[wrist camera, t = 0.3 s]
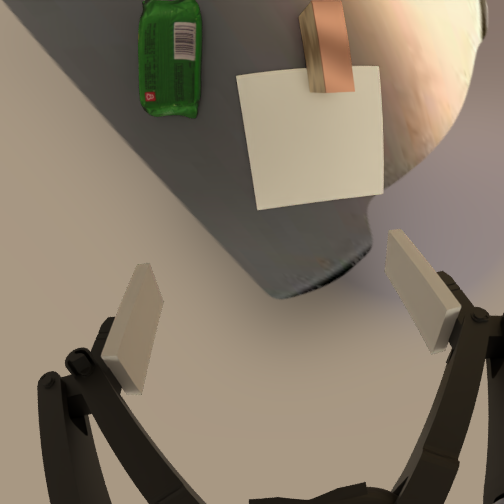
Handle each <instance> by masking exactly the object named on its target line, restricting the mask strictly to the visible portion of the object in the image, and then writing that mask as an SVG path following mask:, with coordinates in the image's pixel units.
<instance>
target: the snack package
mask: <svg viewBox="0 0 504 504" xmlns="http://www.w3.org/2000/svg"><path fill="white" fill-rule="evenodd" d="M142 4H143V12H142V15H141V17H140V22H139V31H138V59H139V94H140V101H141V105H142V107H143V109H144V110H145V111H146V112H147V113H148V114H150V115H152V116H155V117H160V116H167V115H182V116H186V117H188V118H196V116H197V113H198V104H199V100H200V96H201V57H202V19H201V13H200V8H199V5H198V4H197V2H196V1H195V0H176V1H159V0H145V1H143V2H142Z"/></svg>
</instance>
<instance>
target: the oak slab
mask: <svg viewBox="0 0 504 504" xmlns="http://www.w3.org/2000/svg"><path fill="white" fill-rule="evenodd" d="M298 18H299V23H300V29H301V35H302V41H303V47H304V54H305V60H306V67H307V74H308V81H309V89H310V92H314V93H337V92H355V87H354V79H353V71H352V63H351V56H350V49H349V42H348V36H347V30H346V24H345V18H344V13H343V7H342V2H341V1H311V2H310V4H309V5H308V6H307V7H306V8H305V10H304V11H303V12H302V13H301V14H300V16H299V17H298Z"/></svg>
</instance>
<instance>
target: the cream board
mask: <svg viewBox="0 0 504 504" xmlns="http://www.w3.org/2000/svg"><path fill="white" fill-rule="evenodd" d="M352 71H353V79H354V87H355V92H337V93H314V92H310V89H309V81H308V74H307V68H300V69H288V70H278V71H269V72H260V73H253V74H246V75H239V76H236V79H237V85H238V91H239V97H240V103H241V110H242V116H243V122H244V128H245V134H246V141H247V147H248V153H249V159H250V166H251V172H252V178H253V185H254V191H255V198H256V204H257V210H262V209H269V208H276V207H283V206H290V205H297V204H305V203H312V202H320V201H328V200H336V199H344V198H352V197H360V196H369V195H378V194H383V172H384V160H383V119H382V101H381V86H380V74H379V66H352Z"/></svg>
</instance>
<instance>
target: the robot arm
mask: <svg viewBox="0 0 504 504" xmlns="http://www.w3.org/2000/svg"><path fill="white" fill-rule="evenodd" d="M385 273H386V275H387V276H388V278H389V280H390V281H391V283H392V285H393V286H394V288H395V290H396V292H397V293H398V295H399V297H400V298H401V300H402V302H403V303H404V305H405V307H406V309H407V310H408V312H409V314H410V316H411V317H412V319H413V321H414V323H415V325H416V326H417V328H418V330H419V332H420V334H421V336H422V337H423V339H424V341H425V343H426V345H427V347H428V349H429V351H430V353H431V354H435V353H439V352H442V351H445V350H446V347H447V344H448V342H449V343H450V345H451V346H452V349H451V352H450V354H449V356H448V359H447V361H446V363H447V365H446V368H445V371H444V374H443V377H442V380H441V383H440V386H439V389H438V392H437V394H436V397H435V400H434V403H433V405H432V408H431V410H430V413H429V416H428V418H427V421H426V423H425V425H424V428H423V430H422V433H421V435H420V437H419V439H418V442H417V444H416V446H415V448H414V450H413V453H412V454H411V457H410V459H409V461H408V463H407V465H406V467H405V469H404V471H403V473H402V474H401V476H400V478H399V479H398V481H397V483H396V484H395V486H394V487H393V489H392V491H391V492H390V491H388V490H384V489H380V488H375V487H366V482H364V483H360V484H355V485H350V486H346V487H341V488H337V489H335V490H333V491H330V492H328V493H325V494H323V495H321V496H318V497H316V498H313V499H310V500H300V499H290V498H280V497H275V498H264V499H249V504H444V502H445V500H446V497H447V495H448V493H449V491H450V488H451V486H452V484H453V481H454V479H455V476H456V474H457V471H458V468H459V463H460V462H459V461H458V457H459V454H460V451H461V448H462V445H463V443H464V439H465V436H466V433H467V430H468V427H469V423H470V420H471V417H472V413H473V410H474V406H475V402H476V398H477V394H478V390H479V386H480V381H481V376H482V372H483V367H484V362H485V359H486V364H487V378H488V403H489V404H488V405H489V423H488V425H489V426H488V450H487V464H486V475H485V484H484V496H483V504H504V313H503V316H490V315H489V313H488V312H487V311H486V310H484V309H482V308H480V307H474V306H473V305H472V303H471V302H470V301H469V299H468V298H467V297H466V295H465V294H464V293H463V291H462V290H460V287H459V286H458V285H457V284H456V282H455V281H454V280H453V279H452V277H451V276H449V275H448V274H446V273H445V272H443V271H440V272H436V271H435V270H434V269H433V268H432V266H431V265H430V264H429V263H428V262H427V260H426V259H425V258H424V256H423V255H422V254H421V253H420V252H419V250H418V249H417V248H416V247H415V245H413V243H412V242H411V241H410V239H409V238H408V237H407V236H406V235H405V233H404V232H403V231H402V230H401V229H397V230H389V231H388V242H387V253H386V262H385ZM163 303H164V301H163V298H162V296H161V293H160V290H159V287H158V285H157V282H156V279H155V276H154V274H153V271H152V268H151V265H150V263H146V264H138V265H137V266H136V268H135V271H134V273H133V275H132V278H131V280H130V283H129V285H128V287H127V290H126V292H125V295H124V297H123V299H122V302H121V304H120V307H119V309H118V312H117V314H116V317H108V318H107V319H106V320H105V321H104V323H103V324H102V325H101V327H100V330H99V334H98V335H97V337H96V340H95V342H94V345H93V347H92V350H91V352H90V351H89V350H88V349H87V348H78V349H75V350H73V351H72V352H71V353H70V354H69V355H68V356H67V357H66V360H65V366H66V368H67V369H68V370H69V372H70V373H71V374H72V375H68V376H65V377H60V375H59V374H58V373H57V372H54V371H51V372H47V373H46V374H44V375H43V376H42V377H41V378H40V380H39V381H38V386H37V387H38V388H37V390H38V412H39V413H38V414H39V427H40V438H41V448H42V456H43V464H44V471H45V477H46V482H47V488H48V494H49V498H50V503H51V504H112V503H111V500H110V497H109V494H108V491H107V488H106V485H105V481H104V478H103V474H102V471H101V467H100V464H99V460H98V456H97V452H96V448H95V444H94V440H93V436H92V431H91V427H90V422H89V417H88V415H89V414H92V415H93V417H94V418H95V420H96V422H97V424H98V426H99V427H100V429H101V431H102V433H103V434H104V436H105V438H106V440H107V441H108V443H109V445H110V447H111V448H112V450H113V451H114V453H115V455H116V456H117V458H118V460H119V461H120V462H121V464H122V466H123V467H124V469H125V470H126V472H127V473H128V475H129V476H130V478H131V479H132V481H133V482H134V484H135V485H136V487H137V488H138V489H139V491H140V492H141V494H142V495H143V496H144V498H145V499H146V500H147V502H148V503H149V504H206V503H205V502H204V501H203V500H202V499H201V498H200V496H199V495H198V494H197V493H196V492H195V491H194V490H193V489H192V488H191V487H190V486H189V484H188V483H187V482H186V481H185V480H184V479H183V478H182V476H181V475H180V474H179V473H178V472H177V470H175V468H174V467H173V466H172V464H171V463H170V462H169V461H168V460H167V459H166V457H165V456H164V455H163V453H162V452H161V451H160V450H159V448H158V447H157V446H156V444H155V443H154V442H153V441H152V439H151V438H150V437H149V435H148V434H147V433H146V431H145V430H144V428H143V427H142V426H141V424H140V423H139V422H138V420H137V419H136V417H135V416H134V414H133V413H132V412H131V410H130V409H129V407H128V406H127V404H126V403H125V401H124V400H123V398H122V397H121V395H120V393H121V388H122V389H123V390H124V391H125V393H126V394H127V395H142V391H143V387H144V382H145V377H146V373H147V368H148V364H149V359H150V355H151V350H152V347H153V342H154V338H155V334H156V330H157V326H158V322H159V318H160V314H161V310H162V306H163Z"/></svg>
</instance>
